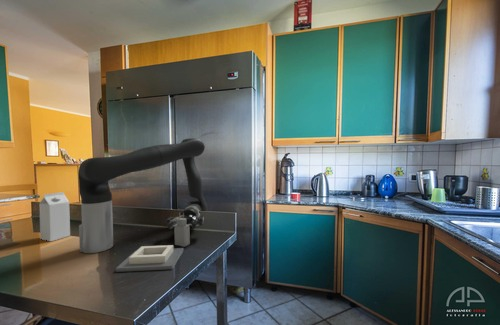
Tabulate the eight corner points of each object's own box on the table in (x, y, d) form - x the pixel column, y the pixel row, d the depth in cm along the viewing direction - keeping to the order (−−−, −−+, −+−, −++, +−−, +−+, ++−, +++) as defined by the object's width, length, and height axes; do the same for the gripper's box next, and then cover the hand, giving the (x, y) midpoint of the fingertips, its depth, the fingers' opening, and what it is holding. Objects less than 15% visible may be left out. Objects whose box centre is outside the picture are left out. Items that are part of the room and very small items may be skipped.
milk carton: (40, 239, 92) (38, 194, 91) (60, 234, 98) (59, 191, 98) (50, 241, 89) (48, 194, 89) (70, 236, 95) (69, 192, 95)
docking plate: (115, 271, 63) (115, 261, 63) (136, 252, 76) (136, 244, 76) (172, 269, 64) (172, 258, 64) (183, 250, 77) (183, 242, 77)
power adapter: (179, 241, 86) (179, 211, 86) (190, 243, 84) (189, 212, 84) (173, 244, 83) (173, 212, 83) (184, 246, 81) (184, 214, 81)
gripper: (173, 207, 98) (161, 216, 82) (206, 206, 99) (200, 215, 83) (174, 224, 99) (162, 237, 82) (206, 223, 99) (200, 235, 83)
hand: (181, 226), depth 83 cm, fingers open, 8 cm apart
